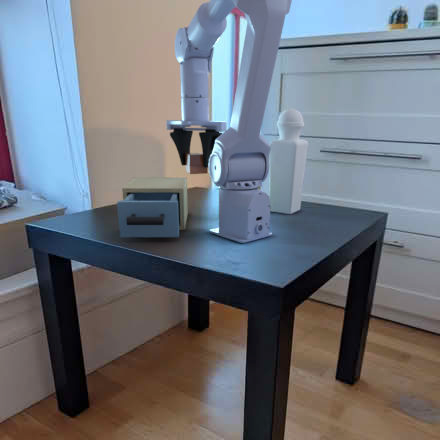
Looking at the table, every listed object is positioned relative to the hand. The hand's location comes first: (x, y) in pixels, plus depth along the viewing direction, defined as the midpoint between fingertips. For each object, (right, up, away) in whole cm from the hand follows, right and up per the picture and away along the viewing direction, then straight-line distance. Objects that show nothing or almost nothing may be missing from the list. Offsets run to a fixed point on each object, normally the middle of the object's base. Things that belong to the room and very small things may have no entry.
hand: (196, 166), depth 92 cm
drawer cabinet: (-8, -13, -3) cm, 15 cm away
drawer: (-7, -16, -14) cm, 23 cm away
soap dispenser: (+20, -9, +6) cm, 23 cm away
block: (0, -1, +1) cm, 1 cm away
